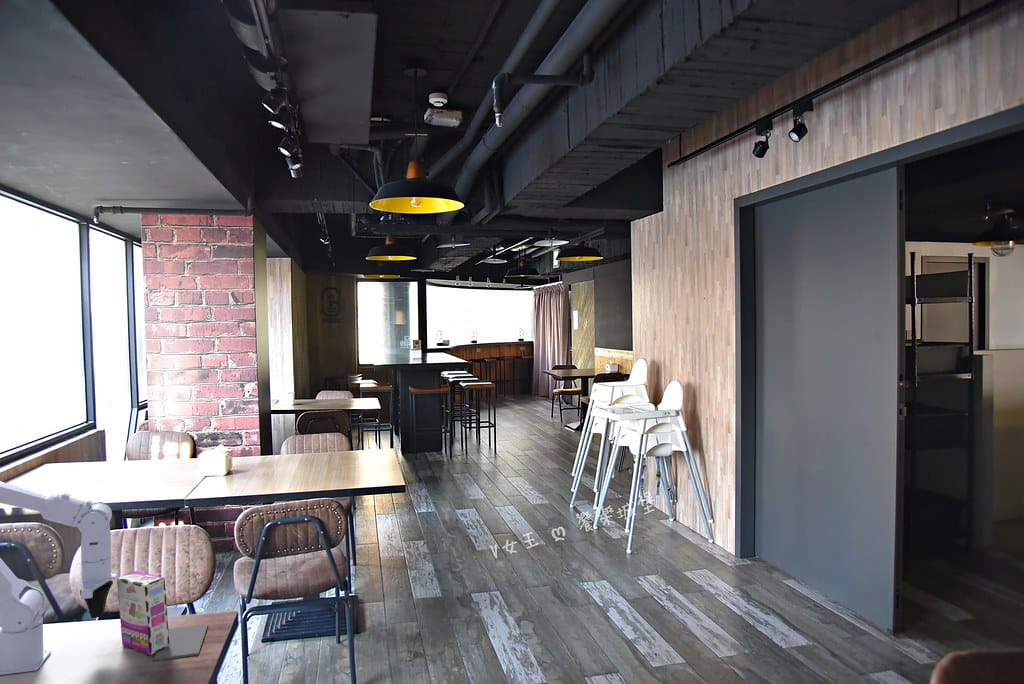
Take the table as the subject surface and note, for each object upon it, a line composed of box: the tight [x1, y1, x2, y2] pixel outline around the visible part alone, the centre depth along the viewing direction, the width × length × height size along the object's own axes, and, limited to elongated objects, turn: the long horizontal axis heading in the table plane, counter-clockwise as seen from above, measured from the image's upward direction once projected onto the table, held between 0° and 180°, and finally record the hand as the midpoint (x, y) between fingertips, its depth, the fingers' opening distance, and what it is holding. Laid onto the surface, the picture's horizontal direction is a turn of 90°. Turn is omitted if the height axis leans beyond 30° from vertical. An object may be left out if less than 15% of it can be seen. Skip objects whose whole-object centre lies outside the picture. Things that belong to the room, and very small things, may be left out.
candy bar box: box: [116, 570, 170, 656], centre depth 151 cm, size 11×5×16 cm, turn 62°
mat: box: [153, 624, 209, 661], centre depth 154 cm, size 9×14×1 cm, turn 17°
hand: (97, 616), depth 149 cm, fingers closed
